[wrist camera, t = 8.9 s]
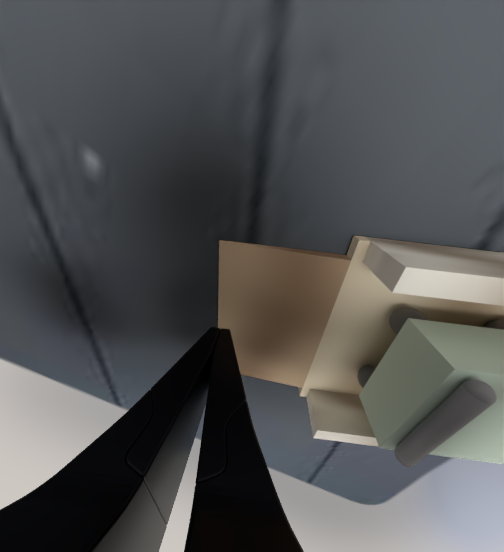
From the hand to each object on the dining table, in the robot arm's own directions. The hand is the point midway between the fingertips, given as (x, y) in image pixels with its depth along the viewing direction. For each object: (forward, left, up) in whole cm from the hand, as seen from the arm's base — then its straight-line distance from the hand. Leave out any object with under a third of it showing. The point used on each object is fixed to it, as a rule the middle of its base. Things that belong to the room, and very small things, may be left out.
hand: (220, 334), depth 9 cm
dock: (+5, -3, -2) cm, 6 cm away
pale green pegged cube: (+8, -5, -1) cm, 9 cm away
